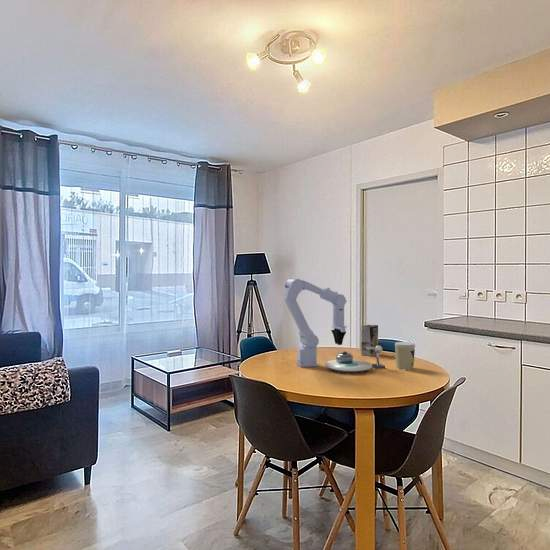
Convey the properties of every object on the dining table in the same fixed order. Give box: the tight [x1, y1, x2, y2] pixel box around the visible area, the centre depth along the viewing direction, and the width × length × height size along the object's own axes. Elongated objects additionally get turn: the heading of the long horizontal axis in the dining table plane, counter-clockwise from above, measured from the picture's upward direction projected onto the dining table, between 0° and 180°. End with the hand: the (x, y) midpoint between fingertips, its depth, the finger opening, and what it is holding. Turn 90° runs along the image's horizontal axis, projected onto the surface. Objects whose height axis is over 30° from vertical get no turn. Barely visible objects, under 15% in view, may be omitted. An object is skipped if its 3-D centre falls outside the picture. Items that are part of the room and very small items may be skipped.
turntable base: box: [329, 368, 368, 375], centre depth 203 cm, size 18×18×2 cm
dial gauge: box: [366, 344, 386, 370], centre depth 205 cm, size 8×5×11 cm, turn 101°
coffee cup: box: [394, 341, 416, 371], centre depth 204 cm, size 9×9×12 cm
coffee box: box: [360, 324, 379, 357], centre depth 236 cm, size 9×6×16 cm
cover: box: [335, 350, 354, 363], centre depth 208 cm, size 8×8×5 cm
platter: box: [324, 359, 373, 371], centre depth 202 cm, size 22×22×1 cm
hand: (338, 344), depth 216 cm, fingers open, 3 cm apart
